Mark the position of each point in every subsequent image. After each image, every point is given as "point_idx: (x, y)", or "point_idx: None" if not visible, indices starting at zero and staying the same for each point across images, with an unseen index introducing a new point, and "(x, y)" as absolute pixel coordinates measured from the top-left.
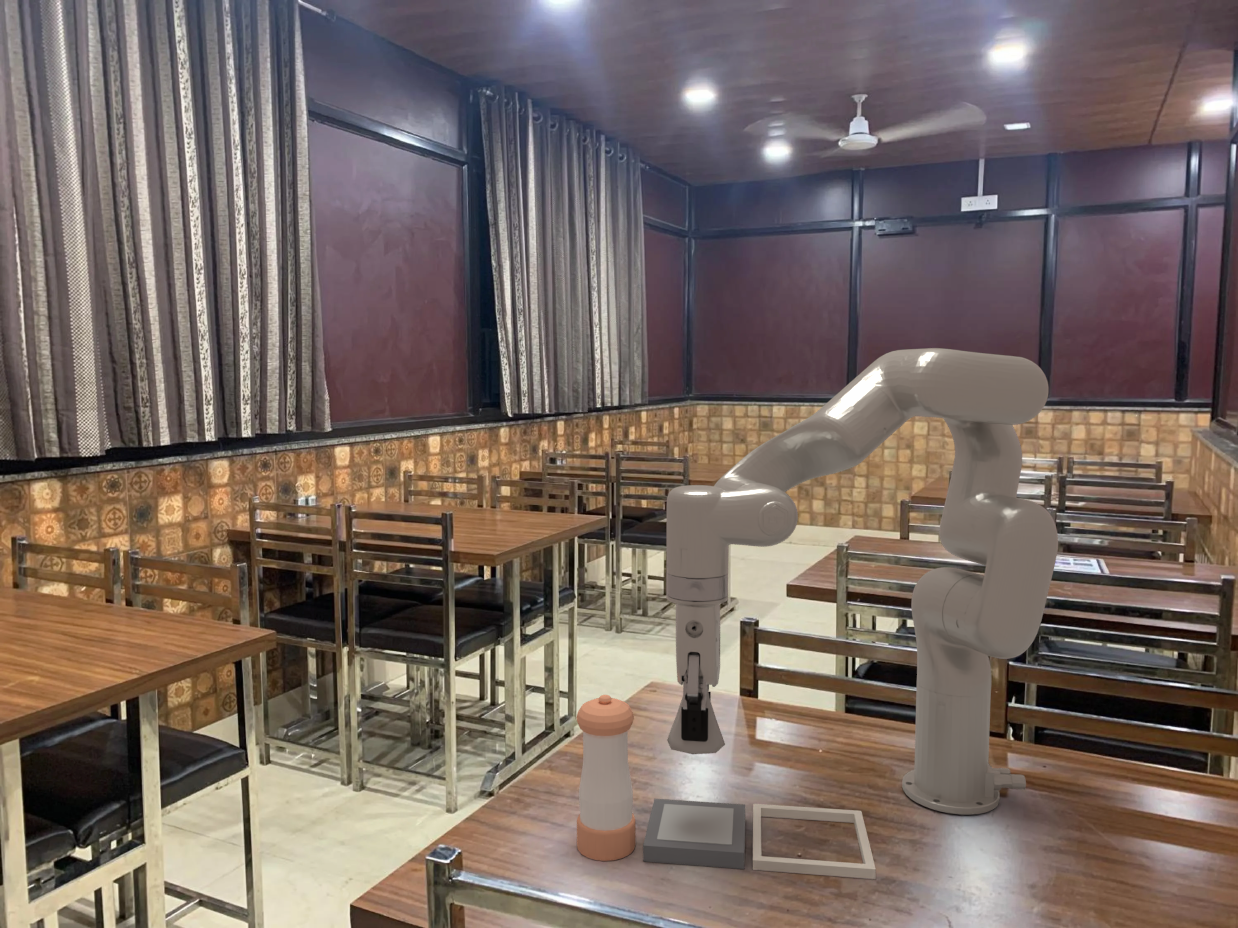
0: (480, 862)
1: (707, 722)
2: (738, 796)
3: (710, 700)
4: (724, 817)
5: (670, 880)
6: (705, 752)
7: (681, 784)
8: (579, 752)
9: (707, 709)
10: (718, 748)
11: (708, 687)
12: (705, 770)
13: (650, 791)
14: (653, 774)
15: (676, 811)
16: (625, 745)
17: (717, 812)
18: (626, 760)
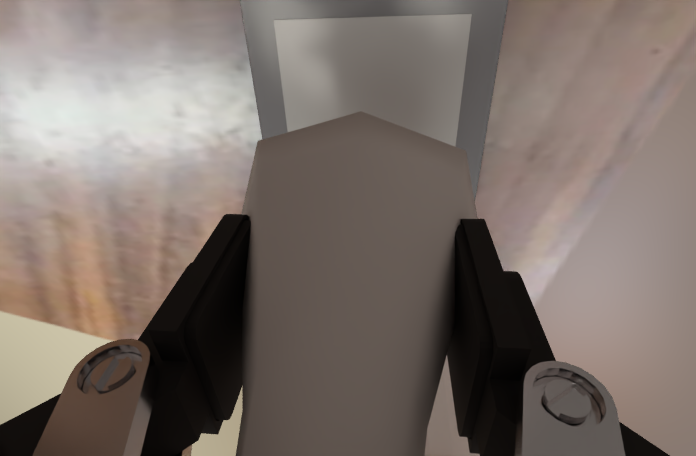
0: None
1: (503, 280)
2: (136, 8)
3: (184, 285)
4: (328, 43)
5: (539, 142)
6: (472, 194)
7: (142, 153)
8: (111, 325)
9: (524, 349)
10: (429, 142)
11: (146, 370)
12: (47, 105)
13: (198, 209)
14: (127, 210)
15: None
16: (453, 416)
17: (305, 65)
18: (445, 371)
